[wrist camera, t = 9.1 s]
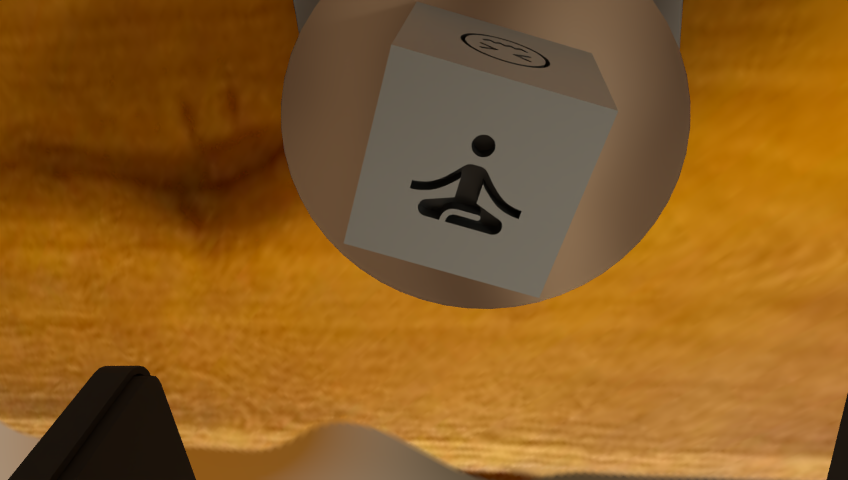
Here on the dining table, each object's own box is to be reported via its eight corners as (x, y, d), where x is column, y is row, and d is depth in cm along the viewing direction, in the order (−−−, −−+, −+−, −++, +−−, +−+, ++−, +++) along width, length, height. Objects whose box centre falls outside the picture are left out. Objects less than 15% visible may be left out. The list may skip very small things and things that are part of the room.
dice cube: (375, 164, 21) (343, 243, 17) (417, 1, 19) (391, 44, 15) (531, 209, 22) (539, 298, 17) (592, 53, 19) (618, 110, 15)
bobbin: (685, -155, 27) (802, -163, 16) (664, 182, 33) (736, 326, 23) (281, -108, 29) (160, -90, 18) (336, 199, 35) (269, 338, 25)
